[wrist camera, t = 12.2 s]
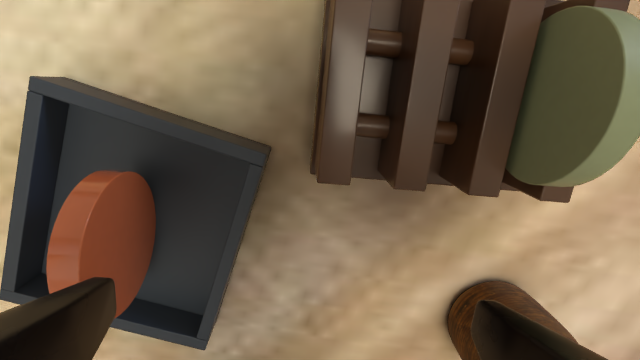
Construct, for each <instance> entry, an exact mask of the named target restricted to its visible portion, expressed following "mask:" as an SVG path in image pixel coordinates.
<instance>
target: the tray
mask: <svg viewBox="0 0 640 360" xmlns="http://www.w3.org/2000/svg"><path fill="white" fill-rule="evenodd" d="M28 90H30V91H27V99H26V106H25V113H24V121H23V128H22V135H21V143H20V150H19V158H18V165H17V172H16V180H15V187H14V194H13V202H12V209H11V217H10V224H9V231H8V239H7V246H6V253H5V261H4V268H3V276H2V283H1V290H0V300H4V301H8V302H12V303H16V304H20V305H22V304H25V303H27V302H30V301H33V300H35V299H38V298H40V297H43V296H46V295H48V294H50V293H49V289H48V284H47V272H46V268H47V254H48V246H49V242H50V237H51V233H52V230H53V227H54V224H55V221H56V219H57V216H58V214H59V211H60V209H61V207H62V206H63V204H64V202H65V200H66V199H67V197H68V196H69V194H70V193H71V191H72V190H73V189H74V188H75V186H76V185H77V184H78V183H79V182H80V181H81V180H82V179H84V178H85V177H86V176H88V175H89V174H91V173H93V172H96V171H99V170H106V169H107V170H120V171H131V172H136V173H138V174H140V175H141V176H142V177H143V178H144V179H145V180H146V181H147V183H148V185H149V187H150V189H151V192H152V195H153V199H154V204H155V214H156V229H155V240H154V246H153V252H152V256H151V260H150V264H149V267H148V270H147V273H146V276H145V278H144V281H143V283H142V285H141V287H140V289H139V291H138V293H137V295H136V296H135V298H134V300H133V301H132V303H131V304H130V305H129V307H128V308H127V309H126V310H125V311H124V312H123V313H122V314H121V315H120V316H118V317H117V318H115V319H114V320H113V322H112V323H111V325H110V327H112V328H116V329H120V330H124V331H128V332H132V333H136V334H140V335H145V336H149V337H153V338H157V339H161V340H165V341H169V342H173V343H177V344H181V345H185V346H189V347H193V348H197V349H201V350H205V349H206V346H207V344H208V341H209V338H210V336H211V333H212V330H213V328H214V325H215V322H216V319H217V316H218V313H219V310H220V307H221V304H222V300H223V297H224V294H225V291H226V288H227V285H228V282H229V279H230V276H231V272H232V269H233V266H234V263H235V260H236V257H237V254H238V251H239V247H240V244H241V241H242V238H243V235H244V232H245V229H246V226H247V222H248V219H249V216H250V213H251V210H252V207H253V204H254V201H255V197H256V194H257V191H258V188H259V185H260V182H261V179H262V176H263V173H264V169H265V166H266V163H267V160H268V157H269V154H270V151H271V147H270V146H267V145H264V144H261V143H258V142H255V141H252V140H249V139H246V138H244V137H241V136H238V135H235V134H232V133H229V132H226V131H223V130H220V129H217V128H214V127H211V126H208V125H205V124H202V123H199V122H196V121H193V120H190V119H187V118H184V117H181V116H178V115H175V114H172V113H169V112H166V111H163V110H160V109H157V108H154V107H151V106H148V105H145V104H143V103H140V102H137V101H134V100H131V99H128V98H125V97H122V96H119V95H116V94H113V93H110V92H107V91H104V90H101V89H98V88H95V87H92V86H89V85H86V84H83V83H80V82H77V81H74V80H71V79H68V78H65V77H39V76H31V77H30V80H29V87H28Z"/></svg>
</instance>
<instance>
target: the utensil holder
mask: <svg viewBox="0 0 640 360" xmlns="http://www.w3.org/2000/svg"><path fill="white" fill-rule="evenodd" d="M479 300H495V301H498V302H500V303H501V304H503V305H505V306H507V307H509V308H511V309H513V310H515V311H517V312H519V313H520V314H522V315H524V316H526V317H528V318H530V319H532V320H534V321H536V322H538V323H539V324H541V325H543V326H545V327H547V328H549V329H551V330H553V331H555V332H557V333H558V334H560V335H562V336H564V337H566V338H568V339H570V340H572V341H574V342H576V343H577V341H576V340H575V339H574V337H573V336H572V335H571V334H570V333H569V332H568V331H567V330H566V329H565V328H564V327H563V326H562V325H561V324H560V323H559V322H558V321H557V320H556V319H555V318H554V317H553V316H552V315H551V314H550V313H549V312H548V311H546V310H545V309H544V308H543V307H542V306H541V305H540V304H539V303H538V302H537V301H535V300H534V299H533V298H532V297H531V296H530V295H528V294H527V293H526V292H525V291H523V290H522V289H520V288H518V287H517V286H515V285H512V284H509V283H506V282H500V281H491V282H485V283H481V284H478V285H475V286H473V287H471V288H470V289H468V290H467V291H465V292H464V293H463V294H462V295H460V296H459V298H458V299H457V300H456V301H455V303H454V304H453V306H452V308H451V310H450V313H449V318H448V329H449V334H450V337H451V339H452V342H453V344H454V346H455V348H456V350H457V351H458V353H459V355H460V357H461V358H462V360H481V359H480V357H479V354H478V352H477V349H476V347H475V344H474V342H473V339H472V336H471V324H472V319H473V315H474V311H475V307H476V304H477V302H478V301H479ZM577 344H578V343H577Z"/></svg>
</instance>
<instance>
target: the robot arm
mask: <svg viewBox="0 0 640 360" xmlns="http://www.w3.org/2000/svg"><path fill="white" fill-rule="evenodd" d="M115 314H116V292H115V282H114V280H113V279H112V278H106V277H92V278H90V279H87V280H85V281H82V282H79V283H77V284H74V285H72V286H69V287H66V288H64V289H61V290H59V291H56V292H53V293H51V294H48V295H46V296H43V297H40V298H38V299H35V300H33V301H30V302H27V303H25V304H22V305H20V306H17V307H14V308H12V309H9V310H7V311H4V312H1V313H0V360H92V359H93V357H94V355H95V353H96V351H97V350H98V348H99V346H100V344H101V342H102V340H103V338H104V336H105V335H106V333H107V331H108V329H109V327H110V325H111V323H112V322H113V320H114V317H115ZM471 336H472V339H473V342H474V344H475V347H476V349H477V352H478V354H479V357H480V359H481V360H608V359H606V358H604V357H602V356H600V355H598V354H596V353H595V352H593V351H591V350H589V349H587V348H585V347H583V346H581V345H579V344H577V343H576V342H574V341H572V340H570V339H568V338H566V337H564V336H562V335H560V334H558V333H557V332H555V331H553V330H551V329H549V328H547V327H545V326H543V325H541V324H539V323H538V322H536V321H534V320H532V319H530V318H528V317H526V316H524V315H522V314H520V313H519V312H517V311H515V310H513V309H511V308H509V307H507V306H505V305H503V304H501V303H500V302H498V301H495V300H479V301H478V302H477V304H476V307H475V311H474V315H473V319H472V324H471Z"/></svg>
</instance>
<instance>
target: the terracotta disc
mask: <svg viewBox="0 0 640 360" xmlns="http://www.w3.org/2000/svg"><path fill="white" fill-rule="evenodd" d="M155 229H156V214H155V204H154V199H153V195H152V192H151V189H150V187H149V185H148V183H147V181H146V180H145V179H144V178H143V177H142V176H141V175H140V174H138V173H136V172H131V171H120V170H107V169H106V170H99V171H96V172H93V173H91V174H89V175H88V176H86V177H85V178H84V179H82V180H81V181H80V182H79V183H78V184H77V185H76V186H75V188H74V189H73V190H72V191H71V193H70V194H69V196H68V197H67V199H66V200H65V202H64V204H63V206H62V207H61V209H60V211H59V214H58V216H57V219H56V221H55V224H54V227H53V230H52V233H51V237H50V242H49V246H48V254H47V268H46V272H47V284H48V289H49V293H50V294H51V293H53V292H56V291H59V290H61V289H64V288H66V287H69V286H72V285H74V284H77V283H79V282H82V281H85V280H87V279H90V278H92V277H106V278H112V279H113V280H114V282H115V292H116V314H115V317H114V319H115V318H117V317H118V316H120V315H121V314H122V313H123V312H124V311H125V310H126V309H127V308H128V307H129V305H130V304H131V303H132V301H133V300H134V298H135V296H136V295H137V293H138V291H139V289H140V287H141V285H142V283H143V281H144V278H145V276H146V273H147V270H148V267H149V264H150V260H151V256H152V252H153V246H154V240H155Z"/></svg>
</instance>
